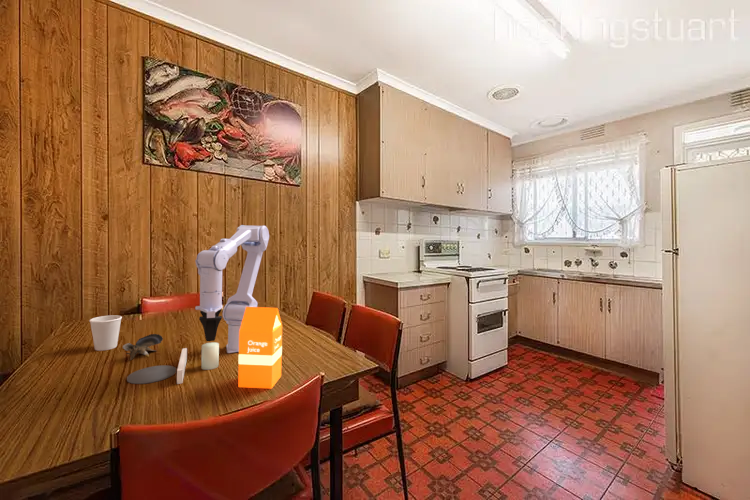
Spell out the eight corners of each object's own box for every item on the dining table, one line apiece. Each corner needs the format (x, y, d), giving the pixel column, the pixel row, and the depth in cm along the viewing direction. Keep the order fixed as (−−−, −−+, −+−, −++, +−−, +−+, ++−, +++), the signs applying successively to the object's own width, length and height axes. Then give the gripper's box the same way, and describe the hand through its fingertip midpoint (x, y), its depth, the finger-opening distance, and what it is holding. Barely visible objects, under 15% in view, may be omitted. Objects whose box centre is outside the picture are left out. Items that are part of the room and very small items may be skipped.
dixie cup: (126, 342, 110) (126, 314, 110) (115, 350, 102) (115, 320, 102) (97, 344, 108) (97, 315, 107) (83, 353, 100) (83, 322, 99)
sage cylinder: (218, 362, 95) (218, 341, 95) (218, 368, 91) (219, 346, 91) (201, 365, 93) (201, 343, 93) (201, 370, 89) (201, 348, 89)
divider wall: (186, 359, 97) (187, 348, 97) (182, 383, 81) (182, 369, 81) (182, 359, 96) (182, 348, 96) (176, 384, 81) (177, 370, 80)
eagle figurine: (147, 358, 94) (168, 343, 103) (132, 339, 93) (155, 325, 102) (129, 369, 96) (152, 353, 104) (114, 350, 95) (138, 336, 103)
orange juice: (250, 374, 88) (251, 303, 87) (281, 375, 87) (283, 304, 87) (237, 387, 80) (238, 310, 79) (271, 388, 80) (273, 311, 79)
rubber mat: (177, 364, 93) (177, 363, 93) (174, 379, 83) (174, 377, 83) (131, 370, 88) (131, 369, 88) (122, 387, 78) (122, 385, 78)
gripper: (196, 288, 96) (195, 331, 96) (194, 295, 83) (193, 346, 83) (221, 287, 99) (221, 329, 100) (223, 294, 86) (222, 342, 87)
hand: (210, 336), depth 92 cm, fingers open, 7 cm apart
